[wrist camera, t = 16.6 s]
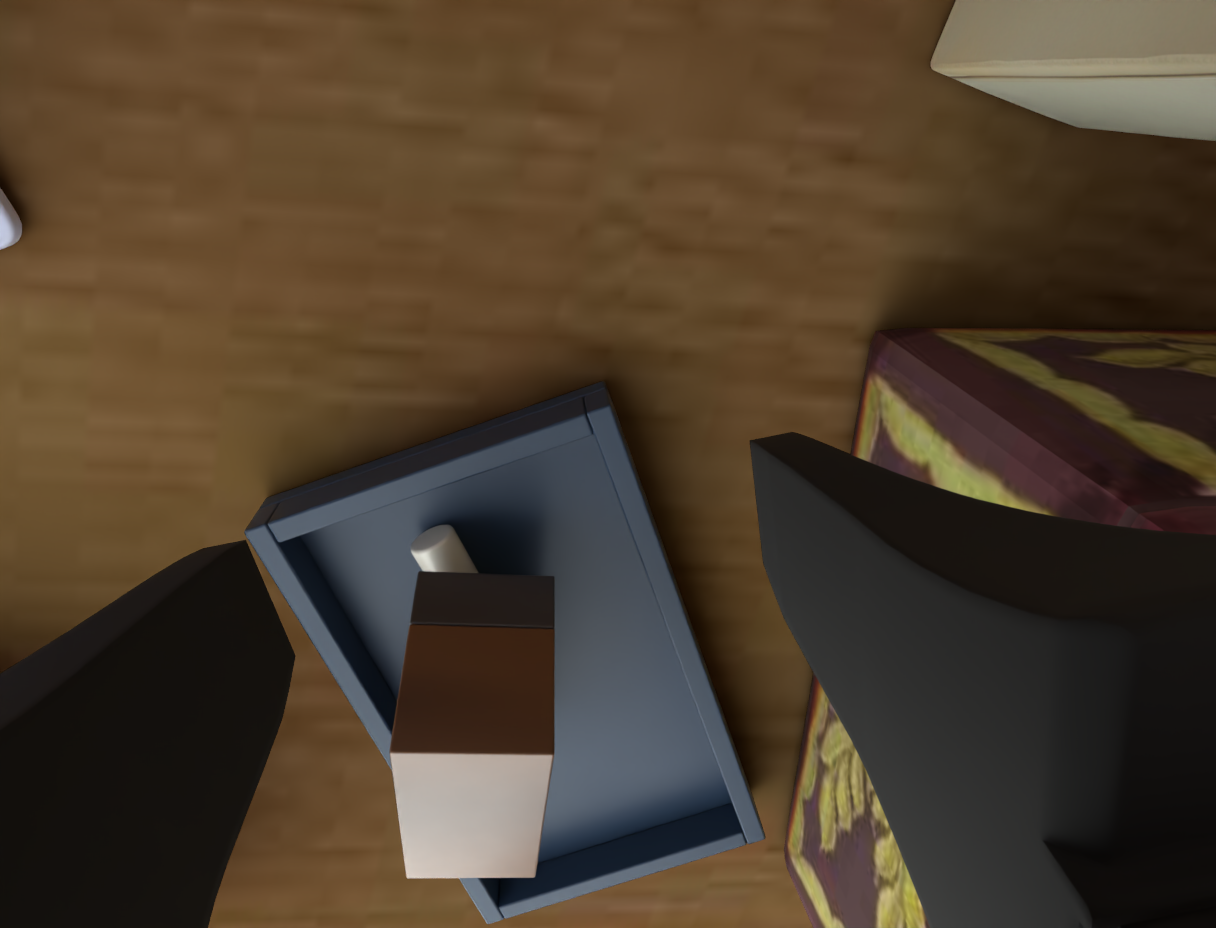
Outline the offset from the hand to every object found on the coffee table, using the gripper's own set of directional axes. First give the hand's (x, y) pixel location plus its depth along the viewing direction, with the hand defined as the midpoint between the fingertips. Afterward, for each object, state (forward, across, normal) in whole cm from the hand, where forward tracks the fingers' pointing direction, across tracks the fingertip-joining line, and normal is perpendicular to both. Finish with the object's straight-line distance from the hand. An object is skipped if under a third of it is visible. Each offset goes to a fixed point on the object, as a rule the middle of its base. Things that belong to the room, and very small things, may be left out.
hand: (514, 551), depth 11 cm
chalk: (+8, +2, +5) cm, 10 cm away
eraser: (+8, +3, +7) cm, 11 cm away
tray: (+9, +2, +9) cm, 13 cm away
